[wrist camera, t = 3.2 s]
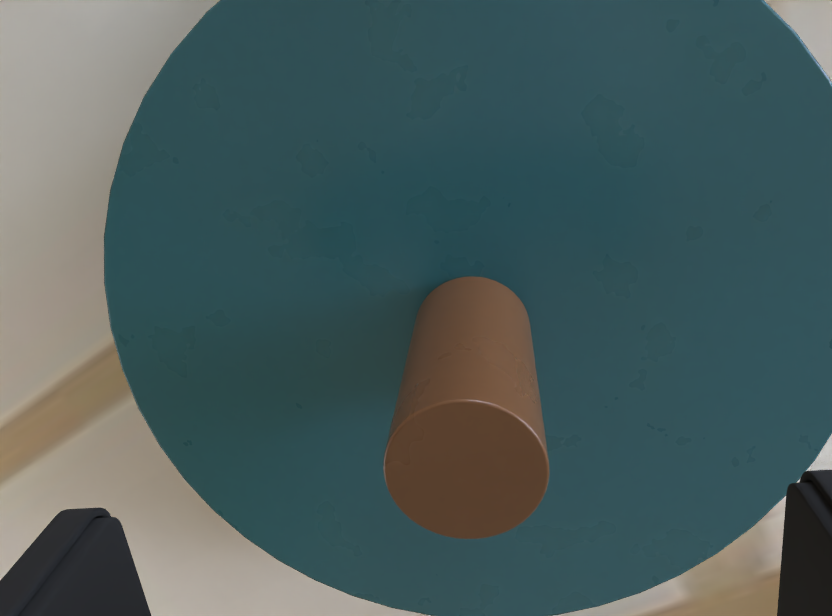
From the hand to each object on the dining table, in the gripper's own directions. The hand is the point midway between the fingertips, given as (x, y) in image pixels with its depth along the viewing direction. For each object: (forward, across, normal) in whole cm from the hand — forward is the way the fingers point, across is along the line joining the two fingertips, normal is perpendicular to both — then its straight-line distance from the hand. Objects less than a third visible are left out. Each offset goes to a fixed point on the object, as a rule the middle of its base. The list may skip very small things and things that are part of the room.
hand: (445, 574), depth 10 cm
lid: (+9, 0, 0) cm, 9 cm away
